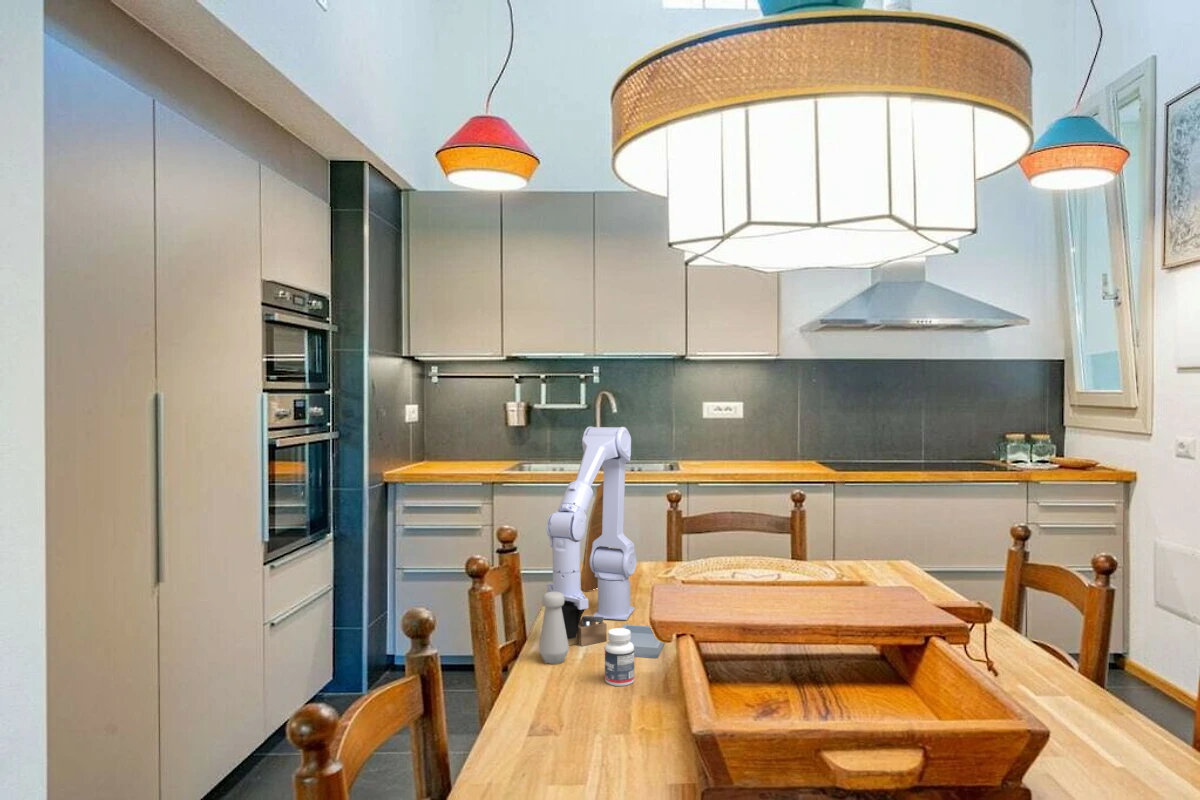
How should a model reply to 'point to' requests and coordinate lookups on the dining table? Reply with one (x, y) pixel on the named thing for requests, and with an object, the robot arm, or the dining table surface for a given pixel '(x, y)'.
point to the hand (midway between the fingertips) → (567, 635)
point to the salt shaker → (553, 629)
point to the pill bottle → (619, 658)
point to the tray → (644, 641)
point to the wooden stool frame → (589, 634)
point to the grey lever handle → (590, 620)
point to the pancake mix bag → (592, 540)
